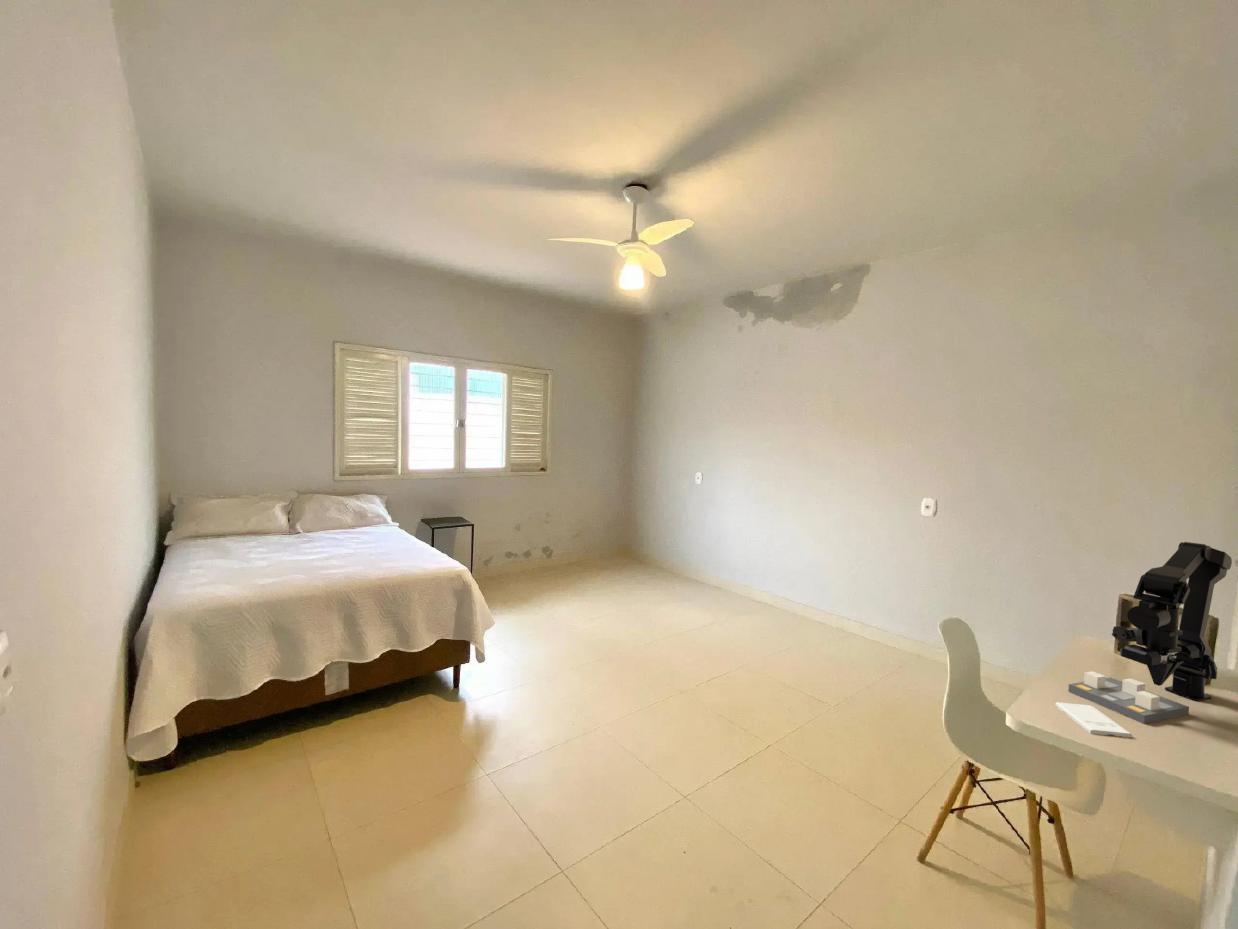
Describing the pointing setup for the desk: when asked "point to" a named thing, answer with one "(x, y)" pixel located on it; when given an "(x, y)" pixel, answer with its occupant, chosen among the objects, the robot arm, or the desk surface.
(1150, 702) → the tab
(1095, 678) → the tab
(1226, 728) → the desk surface
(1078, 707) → the external hard drive
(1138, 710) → the switch panel
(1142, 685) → the tab
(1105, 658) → the desk surface
